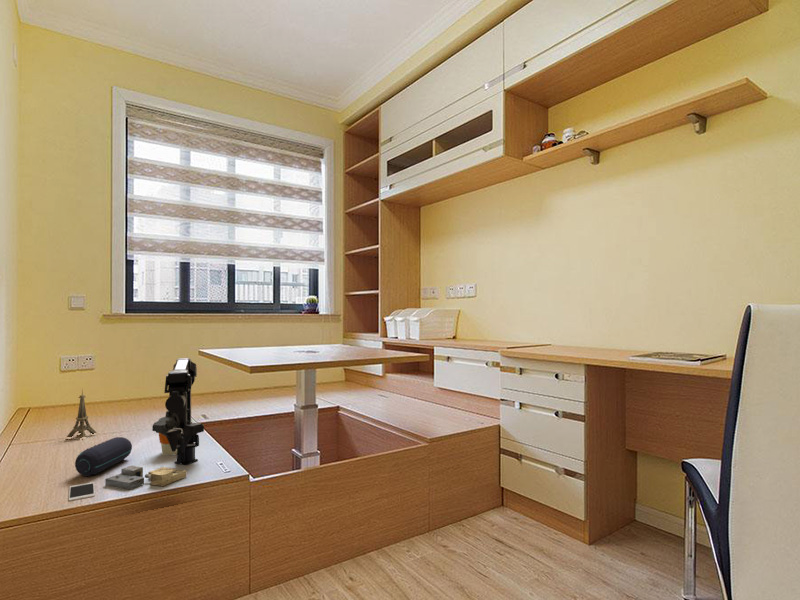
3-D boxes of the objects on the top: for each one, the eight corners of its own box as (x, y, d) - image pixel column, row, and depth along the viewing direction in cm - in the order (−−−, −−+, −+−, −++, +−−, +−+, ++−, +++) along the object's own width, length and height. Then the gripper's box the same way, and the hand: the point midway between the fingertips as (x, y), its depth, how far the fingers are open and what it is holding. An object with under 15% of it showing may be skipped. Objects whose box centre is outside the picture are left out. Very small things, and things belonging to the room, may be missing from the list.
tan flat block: (162, 472, 177) (162, 462, 177) (186, 476, 172) (186, 466, 173) (137, 482, 167) (137, 471, 167) (162, 486, 163) (162, 475, 163)
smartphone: (68, 502, 151) (68, 499, 151) (69, 488, 164) (69, 485, 164) (94, 497, 155) (94, 494, 155) (93, 484, 168) (94, 481, 168)
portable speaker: (111, 458, 197) (111, 434, 198) (134, 458, 197) (135, 434, 198) (69, 479, 172) (69, 452, 172) (95, 479, 172) (96, 451, 172)
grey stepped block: (131, 476, 174) (131, 465, 174) (154, 480, 170) (154, 469, 170) (105, 485, 165) (105, 474, 165) (129, 489, 160) (129, 478, 160)
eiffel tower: (99, 434, 239) (99, 385, 240) (83, 440, 228) (83, 389, 229) (80, 434, 240) (80, 385, 241) (63, 439, 229) (64, 388, 230)
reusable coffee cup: (150, 454, 201) (151, 420, 202) (174, 447, 213) (174, 414, 214) (173, 457, 197) (173, 421, 198) (195, 449, 209) (195, 415, 209)
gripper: (138, 409, 160) (138, 455, 159) (179, 413, 153) (179, 461, 152) (166, 404, 170) (165, 447, 170) (205, 407, 163) (205, 452, 163)
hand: (178, 451), depth 163 cm, fingers open, 4 cm apart
